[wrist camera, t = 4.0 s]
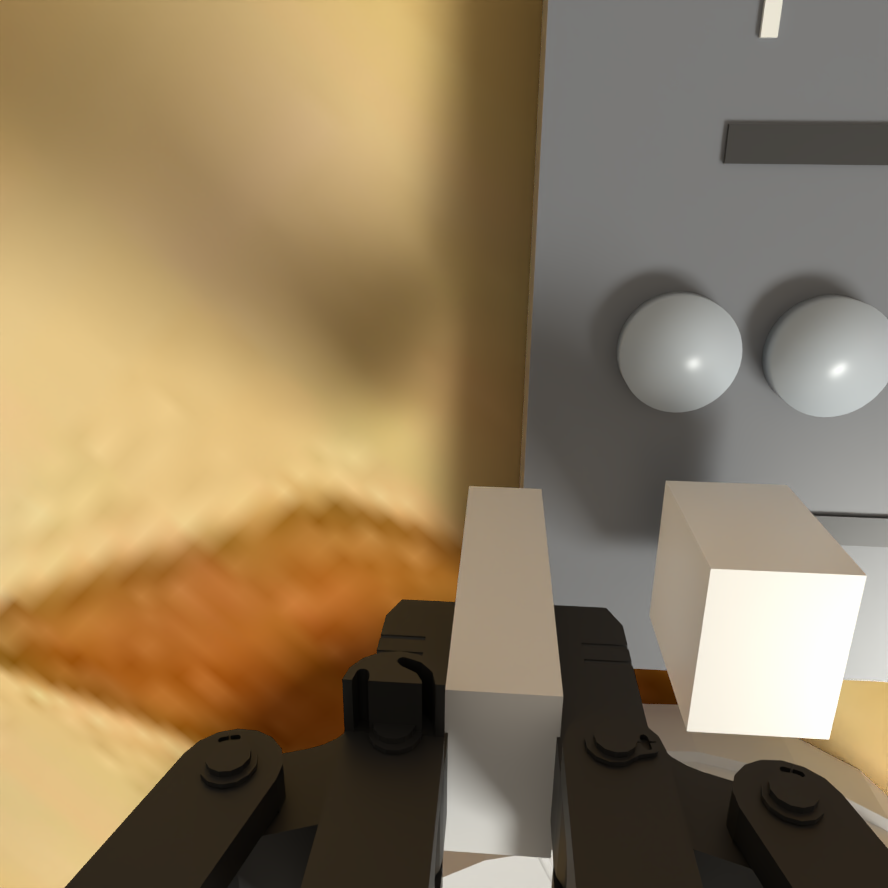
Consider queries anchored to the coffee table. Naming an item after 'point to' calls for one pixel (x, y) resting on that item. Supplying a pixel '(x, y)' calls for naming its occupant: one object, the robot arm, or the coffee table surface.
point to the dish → (530, 878)
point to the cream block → (752, 609)
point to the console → (708, 283)
